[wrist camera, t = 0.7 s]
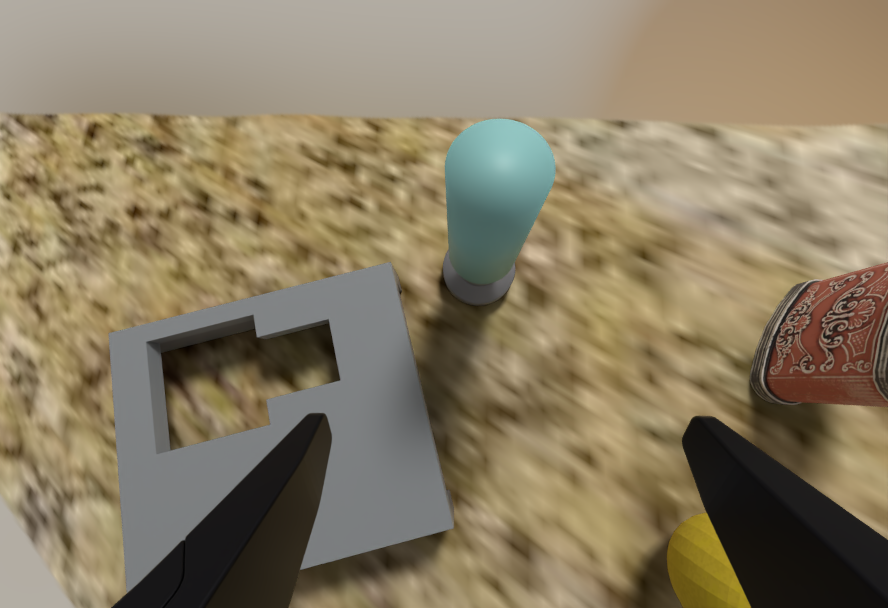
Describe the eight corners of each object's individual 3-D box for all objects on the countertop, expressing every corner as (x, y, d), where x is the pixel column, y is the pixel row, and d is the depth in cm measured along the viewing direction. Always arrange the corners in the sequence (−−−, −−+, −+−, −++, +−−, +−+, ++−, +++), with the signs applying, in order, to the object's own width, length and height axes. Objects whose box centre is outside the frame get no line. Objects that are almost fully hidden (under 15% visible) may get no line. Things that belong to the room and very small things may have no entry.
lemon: (762, 540, 21) (950, 637, 13) (707, 630, 20) (871, 791, 12) (674, 471, 21) (800, 521, 14) (618, 554, 21) (717, 658, 13)
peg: (521, 296, 24) (586, 211, 12) (453, 313, 24) (451, 245, 12) (501, 232, 25) (544, 95, 13) (436, 248, 25) (419, 125, 13)
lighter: (792, 416, 22) (1065, 443, 12) (737, 383, 22) (957, 385, 13) (844, 300, 23) (1130, 240, 13) (791, 272, 24) (1030, 194, 14)
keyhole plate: (453, 508, 21) (453, 528, 18) (174, 583, 21) (128, 616, 18) (398, 276, 24) (390, 261, 21) (151, 339, 24) (108, 333, 21)
